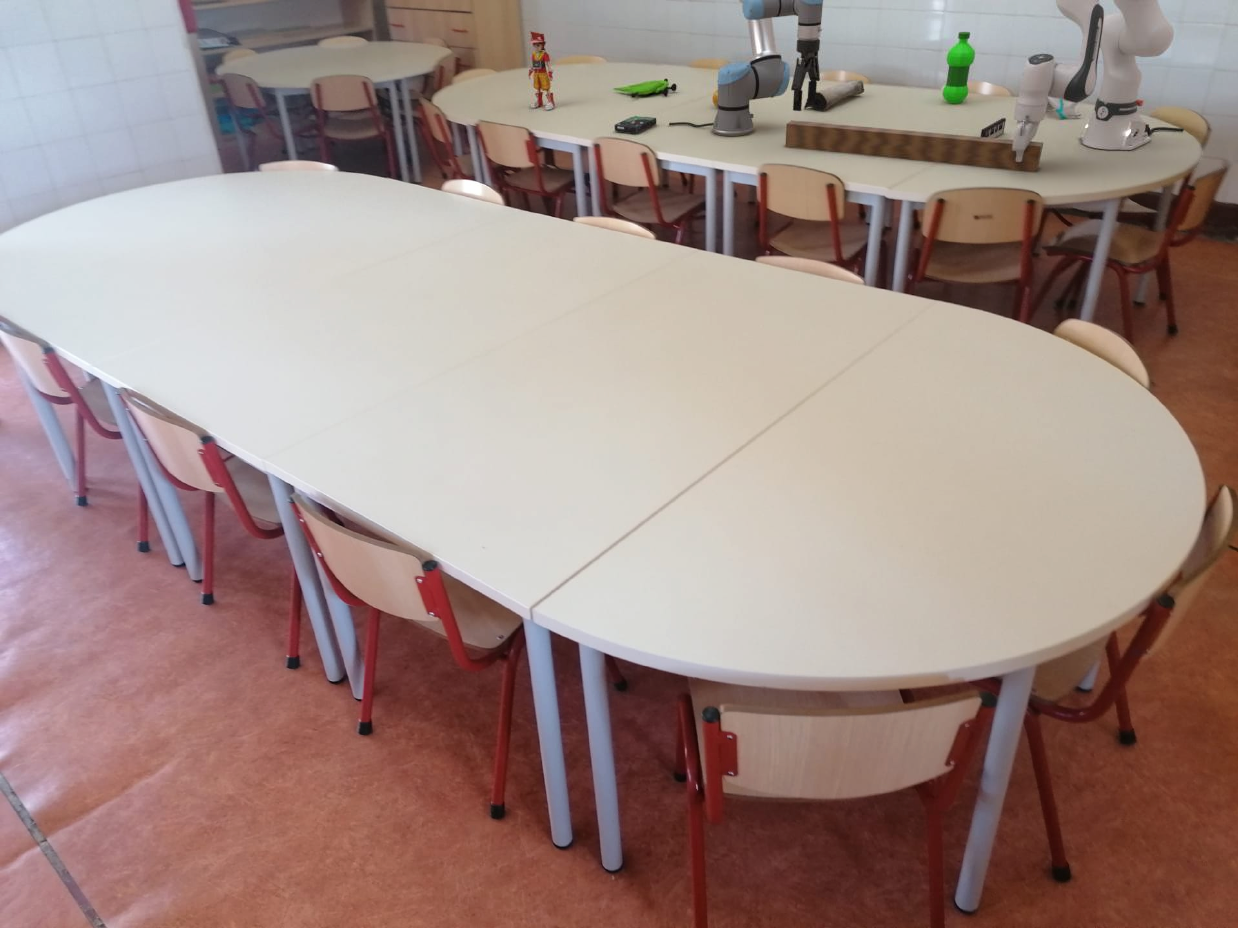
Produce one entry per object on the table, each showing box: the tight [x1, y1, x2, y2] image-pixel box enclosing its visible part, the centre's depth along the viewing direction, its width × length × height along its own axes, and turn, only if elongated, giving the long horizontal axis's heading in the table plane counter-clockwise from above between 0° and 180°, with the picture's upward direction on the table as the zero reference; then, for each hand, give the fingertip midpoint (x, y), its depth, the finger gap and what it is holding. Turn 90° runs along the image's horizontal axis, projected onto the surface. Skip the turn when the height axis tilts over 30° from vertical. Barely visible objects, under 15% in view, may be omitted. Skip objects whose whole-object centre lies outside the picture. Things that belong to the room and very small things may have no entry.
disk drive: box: [614, 115, 657, 135], centre depth 346 cm, size 10×3×15 cm
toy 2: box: [612, 78, 677, 99], centre depth 396 cm, size 28×5×30 cm
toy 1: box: [527, 31, 556, 111], centre depth 374 cm, size 12×9×30 cm
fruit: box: [712, 89, 718, 108], centre depth 365 cm, size 8×8×8 cm
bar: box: [784, 120, 1044, 173], centre depth 298 cm, size 83×5×8 cm, turn 59°
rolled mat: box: [803, 79, 865, 112], centre depth 362 cm, size 30×9×10 cm
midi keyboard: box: [980, 117, 1007, 138], centre depth 310 cm, size 18×1×5 cm, turn 138°
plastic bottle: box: [942, 31, 976, 104], centre depth 348 cm, size 10×10×25 cm
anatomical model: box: [1046, 96, 1082, 119], centre depth 330 cm, size 15×10×10 cm
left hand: (804, 106), depth 308 cm, fingers open, 13 cm apart
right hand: (1020, 158), depth 282 cm, fingers closed on bar, 5 cm apart
